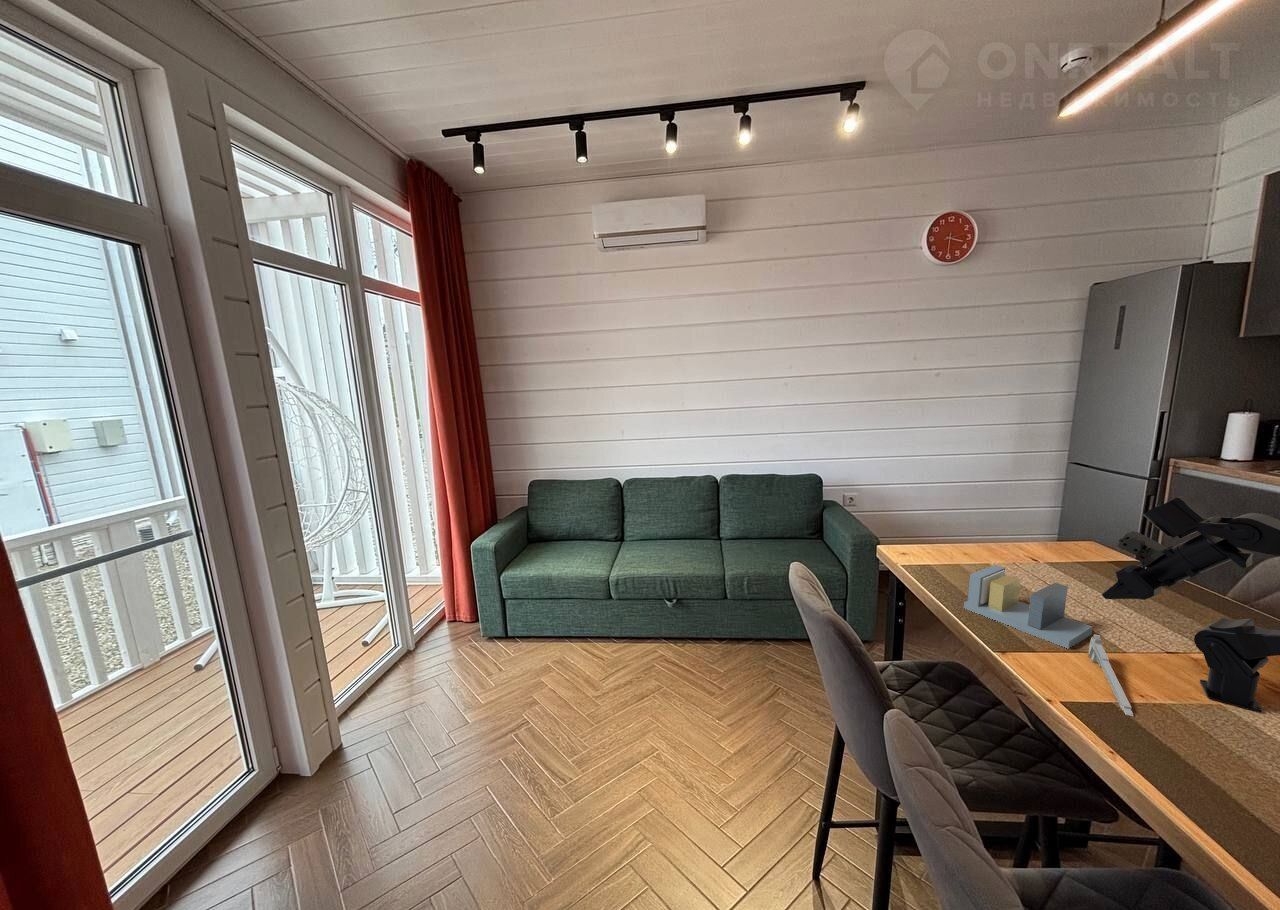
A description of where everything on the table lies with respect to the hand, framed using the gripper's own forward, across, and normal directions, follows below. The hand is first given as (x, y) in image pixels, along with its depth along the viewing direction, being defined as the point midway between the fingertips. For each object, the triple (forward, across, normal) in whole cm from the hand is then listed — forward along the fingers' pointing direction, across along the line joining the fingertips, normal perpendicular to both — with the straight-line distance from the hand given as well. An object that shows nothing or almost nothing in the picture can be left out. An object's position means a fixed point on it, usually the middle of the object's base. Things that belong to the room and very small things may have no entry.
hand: (1113, 592), depth 103 cm
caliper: (+7, +14, +14) cm, 21 cm away
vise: (+20, +1, -2) cm, 21 cm away
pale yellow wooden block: (+22, +1, -7) cm, 23 cm away
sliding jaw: (+16, +1, -1) cm, 16 cm away
